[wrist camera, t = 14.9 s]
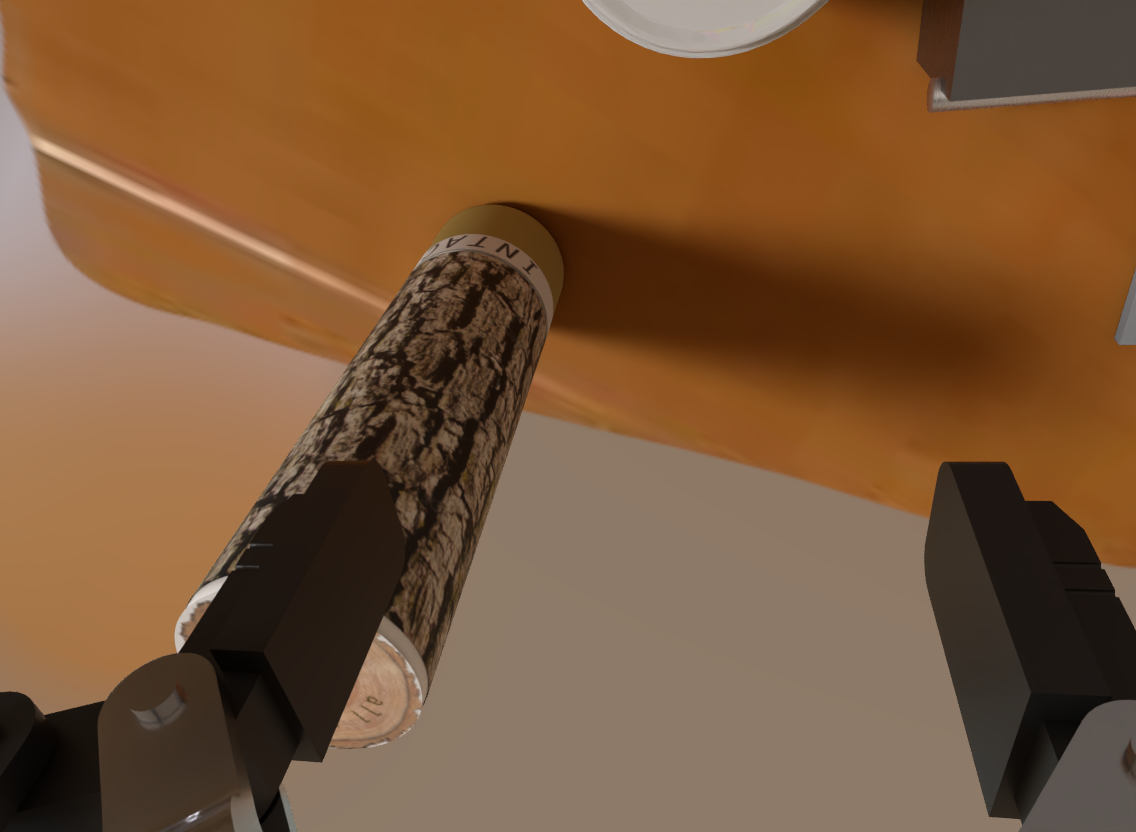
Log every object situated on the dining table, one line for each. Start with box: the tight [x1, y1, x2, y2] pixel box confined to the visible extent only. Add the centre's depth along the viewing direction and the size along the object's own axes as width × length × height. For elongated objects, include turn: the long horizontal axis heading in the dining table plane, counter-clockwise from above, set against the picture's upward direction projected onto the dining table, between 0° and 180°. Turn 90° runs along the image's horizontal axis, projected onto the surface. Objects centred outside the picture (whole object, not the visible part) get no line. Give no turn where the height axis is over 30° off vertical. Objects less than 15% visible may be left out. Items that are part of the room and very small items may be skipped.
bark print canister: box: [175, 204, 564, 749], centre depth 31 cm, size 7×7×25 cm
